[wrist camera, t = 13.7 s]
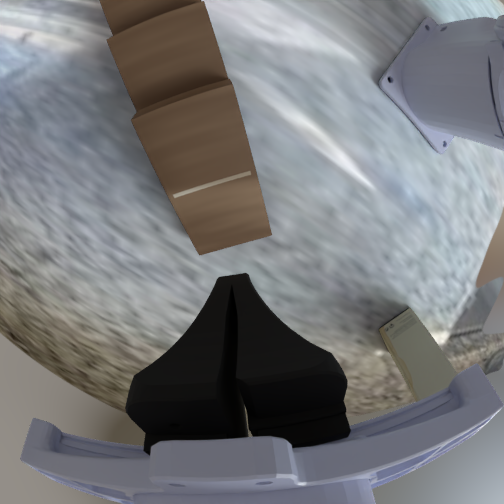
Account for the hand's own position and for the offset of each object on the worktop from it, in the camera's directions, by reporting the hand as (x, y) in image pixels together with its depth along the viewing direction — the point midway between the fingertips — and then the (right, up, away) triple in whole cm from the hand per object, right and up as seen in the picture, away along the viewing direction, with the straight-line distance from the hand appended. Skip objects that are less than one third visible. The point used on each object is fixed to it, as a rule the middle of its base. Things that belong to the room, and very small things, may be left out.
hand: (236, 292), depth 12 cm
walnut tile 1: (-1, +3, +6) cm, 7 cm away
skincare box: (+17, -7, +14) cm, 24 cm away
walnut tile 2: (-2, +7, +4) cm, 8 cm away
